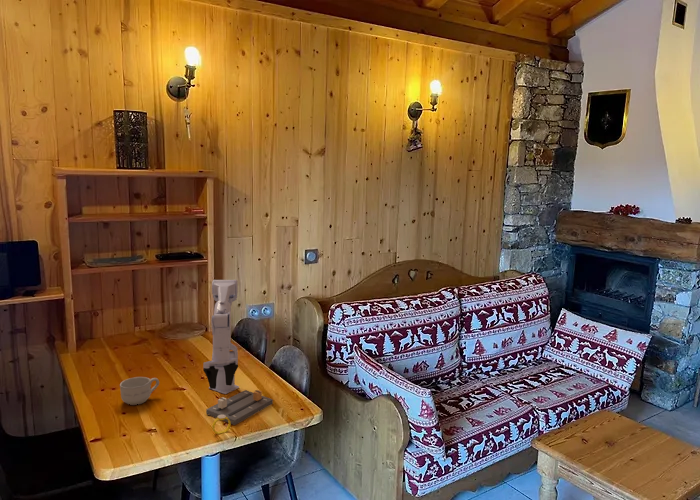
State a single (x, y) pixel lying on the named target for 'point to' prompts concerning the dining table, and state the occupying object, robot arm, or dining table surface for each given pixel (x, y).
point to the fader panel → (240, 407)
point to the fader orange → (257, 395)
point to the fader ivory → (222, 403)
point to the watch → (221, 417)
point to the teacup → (137, 389)
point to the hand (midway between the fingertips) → (221, 386)
